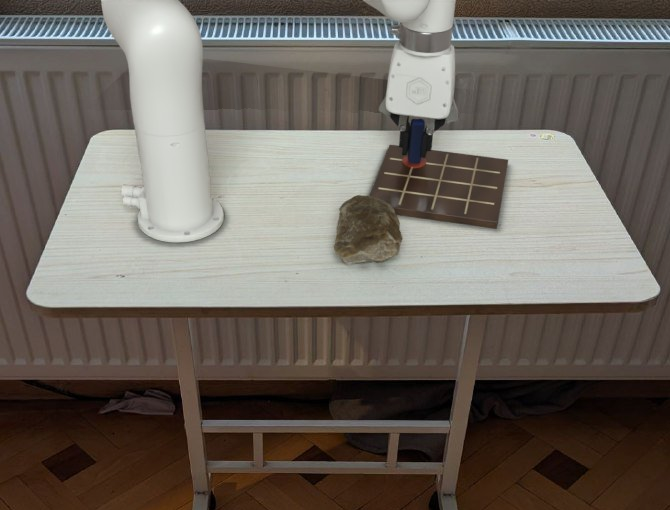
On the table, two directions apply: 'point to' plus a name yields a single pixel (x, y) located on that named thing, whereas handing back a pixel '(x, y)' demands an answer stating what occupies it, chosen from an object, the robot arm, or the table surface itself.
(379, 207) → the stone
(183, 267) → the table surface
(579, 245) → the table surface
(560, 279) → the table surface
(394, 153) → the board
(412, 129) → the eraser
